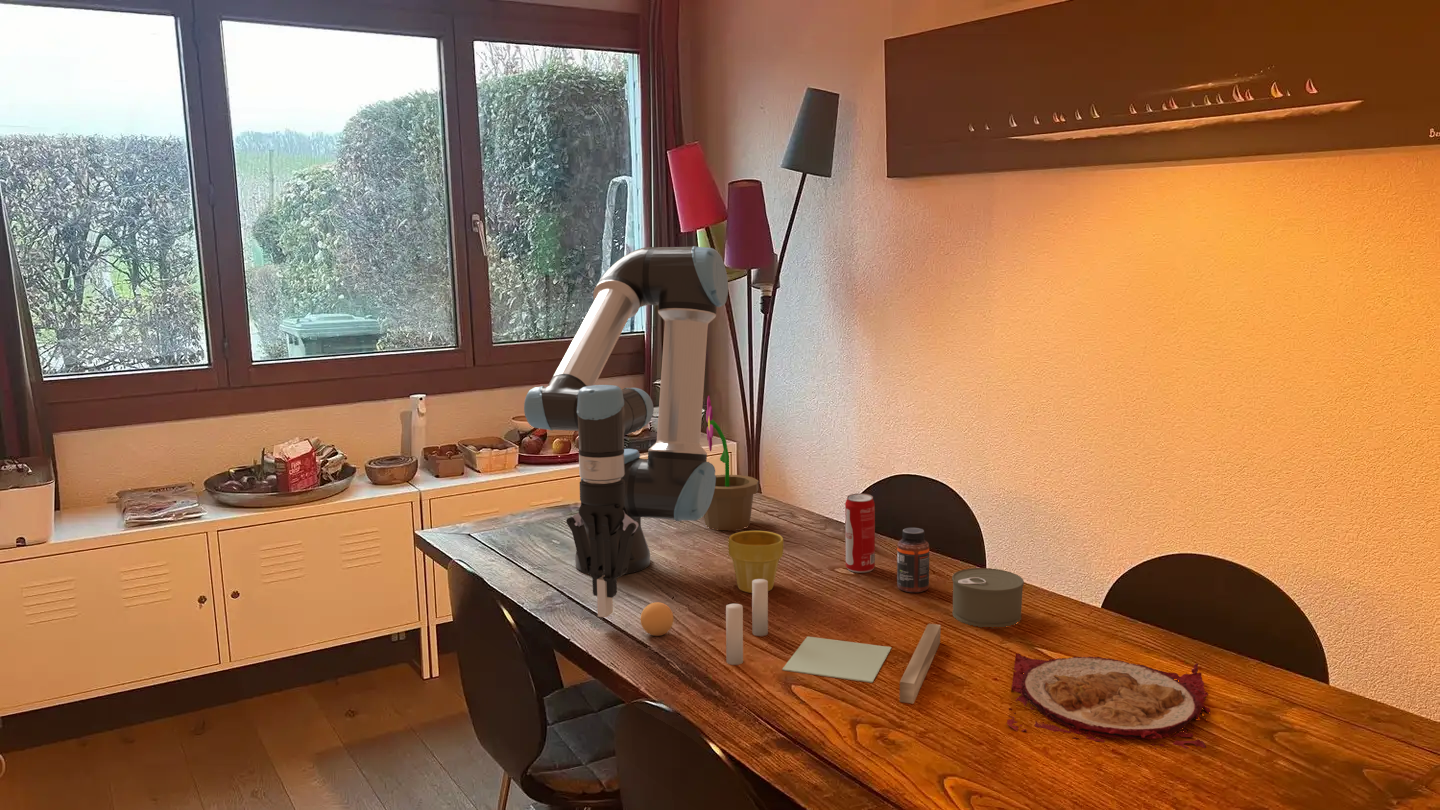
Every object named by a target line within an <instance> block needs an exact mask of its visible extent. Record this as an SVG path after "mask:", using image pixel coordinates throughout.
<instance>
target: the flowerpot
mask: <svg viewBox="0 0 1440 810" xmlns="http://www.w3.org/2000/svg"><path fill="white" fill-rule="evenodd" d="M710 397H711V396H710V395H708V396H707V401H706V408H707V409H706V410H705V411H706V413H705V414H706V416H705V419H706V423H707V425H708V426H707V427H706V437H707V438H706V439H707V442H708V449H709V452H712V448H713V438H714V429H715V430H716V432H717V435H718V436H719V437H720V440H721V444H722V448H723V451H722V453H721V455H720V458H719V461H720V462H722V463H724V465H725V466H724V468H725V469H724V472H725V473H724V474H717V475H716V474H715V475H716V483H715V490H714V494H713V498H712V501H711V504H710V506H709V508H708V510H707V512H706V513H705V515H704V516H703V518H704V524H705V525H707V526H708V527H709V528H714V529H718V530H736V529H742V530H744V529H743V528H744V527H747V526H749V527H750V525H749V524H750V523H751V518H752V517H751V515H752V510H753V501H754V495H755V494H757V493H758V491H759V480H758V479H756V478H755V477H753V476H748V475H742V474H730V455H729V454H730V453H729V450H728V444H727V441H726V440H727V439H726V437H725V435H724V433H723V431H722V429H721V428H720V425H718V424H717V422H716V421H715V420H714V419H713V418H714V417H713V415H714V414H713V406H712V402H711V398H710ZM708 527H707V528H708ZM709 528H708V529H709ZM736 531H737V530H736Z"/></svg>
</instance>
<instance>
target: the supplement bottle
mask: <svg viewBox="0 0 1440 810" xmlns="http://www.w3.org/2000/svg"><path fill="white" fill-rule="evenodd" d="M896 550H897V553H896V554H897V555H896V557H897V558H896V568H897V569H896V582H897V583H896V586H897V589H899V590H900V591H903V592H906V593H914V594H915V593H922V592H925V591H927V590H928V589H929V587H930V544H929V542H928V541H927V540H925V530H924V529H923V528H919V527H906V528H904V529H902V538H901V539H900V540H899V541H898V542H897V549H896Z"/></svg>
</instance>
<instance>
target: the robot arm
mask: <svg viewBox="0 0 1440 810" xmlns="http://www.w3.org/2000/svg"><path fill="white" fill-rule="evenodd" d="M592 295H593V302H592V304H591V305H590V307H589V309H588V312H587V313H586V315H585V316H584V319H583V321H582V322H581V324H580V326H579V328H578V330H577V331H576V333H575V335H574V337H573V339H572V341H571V343H570V345H569V346H568V348H567V350H566V351H565V354H564V356H563V357H562V360H561V361H560V363H559V365H558V367H557V368H556V370H555V372H554V373H553V376H552V378H551V379H550V381H549V383H548V385H546V386H544V385H541V386H535V387H533V388H531V389H529V390H528V392H527V394H526V395H525V398H524V403H523V413H524V417H525V418H526V421H527V424H529V426H531V427H533V428H535V429H540V430H541V429H542V430H549V431H569V432H570V431H576V432H578V433H577V434H578V467H579V468H578V470H579V477H580V481H579V501H580V505H579V507H578V512H577V513H576V514H573V515H572V516H570V517H567V518H566V524H567V526H568V527H569V529H570V531H571V533H572V537H573V541H574V546H575V550H576V552H575V556H574V557H575V568H576V569H577V570H579V571H580V572H581V573H583V574H585V575H586V574H587V575H589V576H590V577H591V579H592V594H593V596H596V598H597V599H596V600H597V617H598V618H599V617H600V618H608V617H609V616H611V614H612V613H614V611H613V610H614V606H613V605H614V604H613V598H614V597H616V595H617V593H618V590H617V589H618V583H617V580H618V578H620V577H622V576H623V575H628V574H632V573H636V572H639V571H642V570H645V569H646V568H648V567H649V566H650V565H651V552H650V549H649V548H650V547H649V545H648V542H647V540H646V538H645V537H646V536H645V534H644V531H643V529H642V523H641V520H642V519H641V518H647V519H656V520H657V519H659V520H670V521H671V520H672V521H675V522H683V521H685V522H686V521H691V522H695V521H698V520H701V518H704V515H705V513H706V512H707V510H708V508H709V506H710V504H711V501H712V498H713V494H714V490H715V483H716V469H715V465H714V464H713V463H712V462H710V461H708V460H707V458H708V452H707V451H706V450H705V449H704V448H703V446H702V445H701V433H702V420H703V419H702V418H703V417H702V416H703V404H704V391H705V390H704V388H705V373H706V370H705V369H706V359H707V355H706V354H707V343H708V341H707V340H708V328H709V324H710V323H711V322H712V321H714V319H715V318H716V317H717V308H721V307H722V306H725V305H726V303H727V300H728V297H729V296H728V295H729V281H728V273H727V269H726V266H725V263H724V259H723V257H722V255H721V254H720V253H719V252H718V251H717V250H716V249H715V248H713V247H703V246H697V245H693V246H669V247H668V246H665V247H664V246H663V247H661V246H660V247H656V246H646V247H642V248H637V249H635V250H632V251H631V252H628V253H627V254H625V255H624V256H622V257H620V258H619V259H618V260H617V261H615V262H614V263H613V264H612V265H611V266H610V267H609V268H608V269H607V270H605V272H604V273H603V275H602V276H600V279H599V281H598V282H597V284H596V286H595V287H594V289H593V294H592ZM645 306H657V308H658V309H657V313H658V316H660V317H661V319H662V320H663V321H664V329H663V330H664V331H663V343H662V344H663V345H662V357H661V359H662V360H661V374H660V375H661V376H660V387H659V388H660V389H659V403H658V404H659V405H658V414H657V416H658V418H657V429H656V430H657V432H656V442H655V443H653V445H652V446H650V448H648V451H647V458H640V457H641V454H640V452H639V450H638V449H634V448H625V436H626V435H629V434H631V433H636V432H639V431H640V430H642V429H643V428H645V426H647V425H648V424H649V423H650V421H651V420H652V418H653V415H654V404H653V403H654V402H653V399H652V398H651V396H650V395H649V393H647V392H646V391H644V390H643V389H641V388H638V387H624V388H623V389H622V388H621V387H620V386H619V385H613V384H597V382H598V379H599V378H600V376H601V373H602V371H603V369H604V368H605V366H606V363H607V362H608V359H609V357H610V356H611V354H612V352H613V350H614V348H615V346H616V344H617V342H618V340H619V339H620V336H621V334H622V332H623V330H624V328H625V327H626V324H627V322H628V320H629V319H631V318H632V317H635V316H636V314H637V313H638V312H639V310H640V308H642V307H645Z"/></svg>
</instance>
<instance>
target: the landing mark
mask: <svg viewBox="0 0 1440 810" xmlns="http://www.w3.org/2000/svg"><path fill="white" fill-rule="evenodd" d="M891 650H892V647H891V646H886V645H878V644H877V645H876V644H869V643H862V642H855V641H854V642H853V641H846V640H837V639H830V638H823V637H815V636H808V635H807V636H806V638H804V640H803V641H802V643H801V644H800V645H799V647H798V648H797V649H796V651H795V652H794V653H793V654H792V655H791V657H790V658H789V659H788V661H787V662H786V663H785V665H784V666H783V667H782V669H781V670H782V671H785V672H793V673H799V674H807V675H812V676H814V675H815V676H821V677H828V678H829V677H830V678H836V679H842V680H849V681H850V680H851V681H856V682H864V683H870V684H872V683H874V680H875V679H876V678H877V676H878V673H879V672H880V670H881V668H882V666H883V665H884V663H885V661H886V659H887V657H888V656H889V654H890V651H891Z"/></svg>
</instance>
